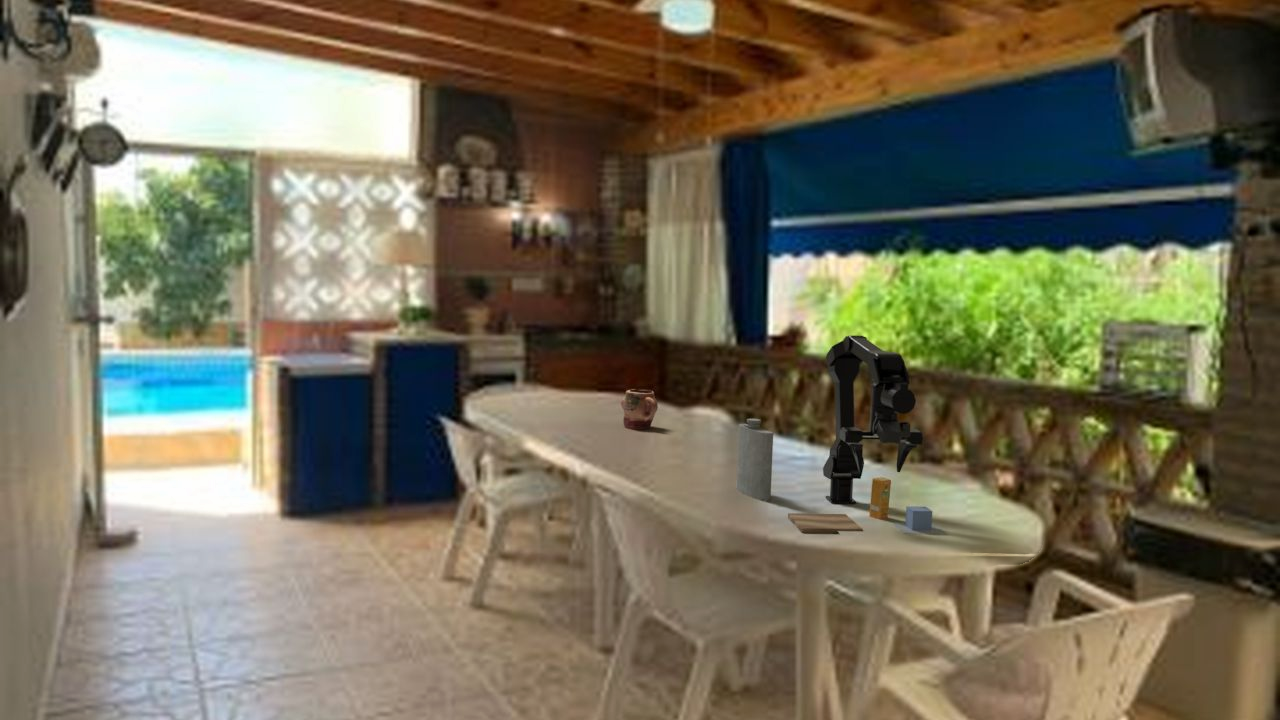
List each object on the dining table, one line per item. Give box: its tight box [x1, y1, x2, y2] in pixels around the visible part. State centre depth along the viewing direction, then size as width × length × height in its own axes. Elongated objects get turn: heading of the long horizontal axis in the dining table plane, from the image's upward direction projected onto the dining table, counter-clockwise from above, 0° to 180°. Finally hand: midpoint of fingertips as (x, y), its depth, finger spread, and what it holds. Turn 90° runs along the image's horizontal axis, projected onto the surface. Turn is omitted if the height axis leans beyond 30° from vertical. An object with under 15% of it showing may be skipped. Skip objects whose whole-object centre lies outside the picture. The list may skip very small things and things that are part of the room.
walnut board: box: [787, 512, 863, 534], centre depth 235 cm, size 14×14×1 cm
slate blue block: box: [905, 505, 933, 531], centre depth 232 cm, size 4×4×4 cm
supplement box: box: [869, 476, 892, 520], centre depth 241 cm, size 3×3×10 cm
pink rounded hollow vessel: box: [620, 388, 659, 430], centre depth 370 cm, size 20×12×14 cm, turn 36°
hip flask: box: [736, 418, 774, 502], centre depth 265 cm, size 16×4×20 cm, turn 20°
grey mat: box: [889, 521, 948, 535], centre depth 232 cm, size 10×10×1 cm
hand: (879, 471), depth 238 cm, fingers open, 9 cm apart
